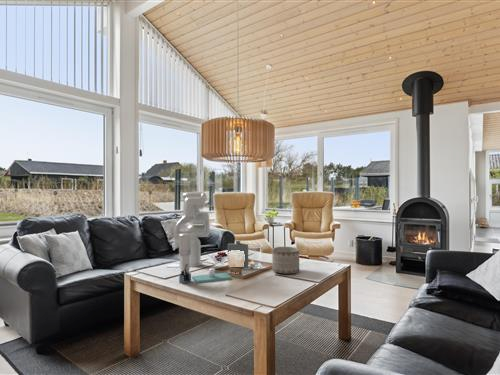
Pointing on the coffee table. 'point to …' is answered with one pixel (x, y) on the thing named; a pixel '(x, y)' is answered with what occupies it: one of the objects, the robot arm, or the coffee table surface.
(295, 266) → the planter
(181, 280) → the gunmetal ring
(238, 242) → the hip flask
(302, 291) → the coffee table surface
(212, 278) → the piston stand
